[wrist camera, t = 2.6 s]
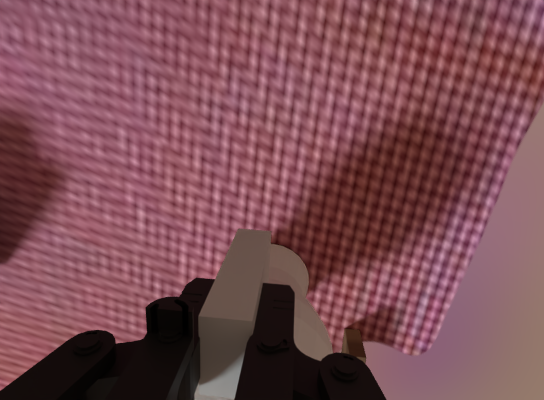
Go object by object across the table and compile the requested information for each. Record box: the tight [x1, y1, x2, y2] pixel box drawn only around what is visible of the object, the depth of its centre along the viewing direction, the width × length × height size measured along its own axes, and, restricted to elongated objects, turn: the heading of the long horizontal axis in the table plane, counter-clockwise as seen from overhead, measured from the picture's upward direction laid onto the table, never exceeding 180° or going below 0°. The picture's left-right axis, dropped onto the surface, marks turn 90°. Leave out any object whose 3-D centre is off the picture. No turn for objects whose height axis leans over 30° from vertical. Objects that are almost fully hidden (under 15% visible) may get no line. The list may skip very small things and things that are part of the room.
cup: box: [194, 244, 333, 400], centre depth 29 cm, size 11×11×15 cm
